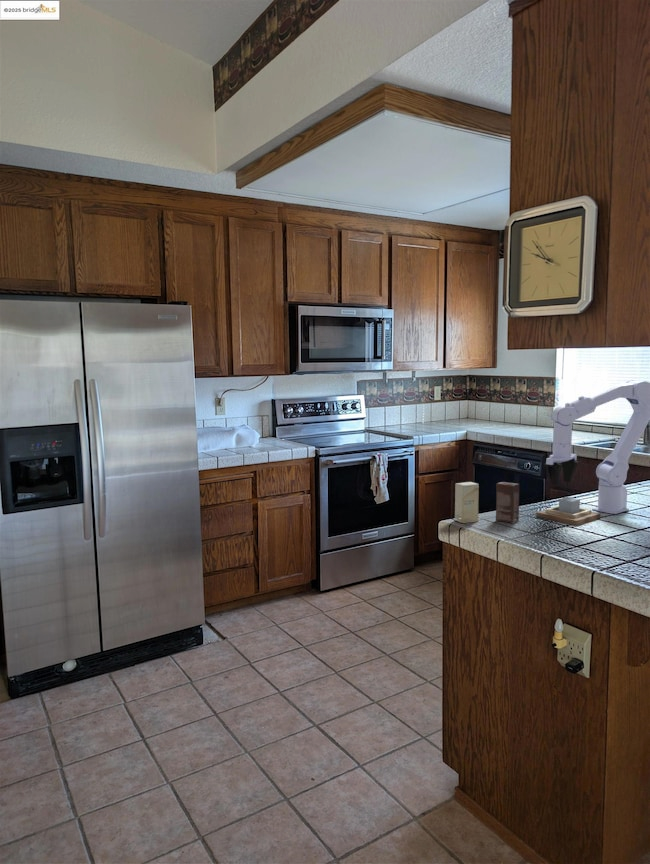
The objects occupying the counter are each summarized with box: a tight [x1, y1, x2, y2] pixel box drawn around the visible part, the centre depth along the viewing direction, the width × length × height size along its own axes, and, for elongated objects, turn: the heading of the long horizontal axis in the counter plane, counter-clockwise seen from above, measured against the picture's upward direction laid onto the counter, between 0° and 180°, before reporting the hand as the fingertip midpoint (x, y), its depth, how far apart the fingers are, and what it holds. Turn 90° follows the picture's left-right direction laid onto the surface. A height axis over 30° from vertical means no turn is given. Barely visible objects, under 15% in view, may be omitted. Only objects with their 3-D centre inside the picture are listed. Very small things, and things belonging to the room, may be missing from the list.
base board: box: [535, 505, 602, 526], centre depth 196 cm, size 14×14×2 cm
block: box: [558, 496, 581, 514], centre depth 196 cm, size 4×4×4 cm
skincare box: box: [454, 481, 480, 524], centre depth 193 cm, size 6×4×12 cm
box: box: [495, 481, 520, 524], centre depth 193 cm, size 6×4×12 cm
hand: (560, 483), depth 203 cm, fingers open, 7 cm apart
